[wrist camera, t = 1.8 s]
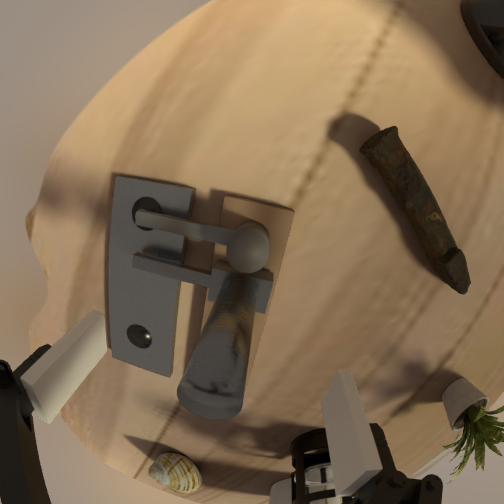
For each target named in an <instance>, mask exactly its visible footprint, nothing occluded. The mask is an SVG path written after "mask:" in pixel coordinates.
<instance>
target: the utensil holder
mask: <svg viewBox="0 0 504 504" xmlns="http://www.w3.org/2000/svg"><path fill="white" fill-rule="evenodd" d="M329 489H335V487H334V484H331V485H327V486H326V490H329ZM323 490H324V488H323V486H320V487H309V494H310V493H313V492H317V491H323ZM327 502H328V504H340V497H333V498H327ZM269 504H291V478H288V479H284V480H281V481H279V482H277V483H275V484H274V485H273V486H272V487H271V491H270V500H269ZM310 504H325V499H321V500H316V501H312V502H310Z"/></svg>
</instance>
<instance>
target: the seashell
mask: <svg viewBox="0 0 504 504" xmlns="http://www.w3.org/2000/svg"><path fill="white" fill-rule="evenodd" d="M149 475H150V476H151V477H152V478H153V479H155V480H156V481H157V482H159V483H161V484H163V485H165V486H167V487H168V488H170V489H171V490H173V491H175V492H178V493H192V492H194V491H196V490H198V489H199V488H200V486H201V484H202V477H201V474H200V473H199V471H198V469H197V467H196V466H195V465H194V464H193V463H192V462H191V461H190V460H189V459H188V458H187V457H185V456H182V455H180V454H176V453H164V454H161V455H159V456H158V457H157V458H156V459H155V461H154V463H153V464H152V465H151V466H150V468H149Z"/></svg>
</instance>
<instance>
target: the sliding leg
mask: <svg viewBox="0 0 504 504" xmlns="http://www.w3.org/2000/svg"><path fill="white" fill-rule="evenodd" d="M131 259H132V267H133V268H136V269H140V270H143V271H147V272H150V273H154V274H158V275H161V276H165V277H169V278H172V279H176V280H180V281H184V282H188V283H192V284H195V285H199V286H203V287H207V288H209V291H208V297H207V301H211V302H214V305H213V307H212V309H211V311H210V314H209V316H208V318H207V321H206V323H205V325H204V328H203V330H202V332H201V334H200V337H199V339H198V341H197V344H196V346H195V348H194V351H193V353H192V355H191V358H190V360H189V362H188V365H187V367H186V369H185V372H184V374H183V377H182V379H181V381H180V384H179V386H178V388H177V396H178V399H179V401H180V403H181V404H182V405H183V406H184V407H185V408H186V409H187V410H189V411H190V412H192V413H193V414H195V415H197V416H200V417H203V418H206V419H212V420H223V419H228V418H231V417H233V416H235V415H237V414H238V413H239V412H240V410H241V408H242V405H243V398H244V391H245V384H246V376H247V369H248V362H249V355H250V347H251V340H252V332H253V325H254V317H255V312H258V313H263V314H265V312H266V308H267V304H268V301H269V297H270V293H271V290H272V286H273V282H274V272H269V271H265V270H258V271H256V272H253V273H243V272H240V271H238V270H236V269H234V268H233V267H232V266H231V265H230V263H229V262H226V261H222V260H217V262H216V263H215V265H214V266H213V268H212V271H208V270H204V269H199V268H195V267H191V266H187V265H183V264H179V263H175V262H171V261H168V260H164V259H160V258H156V257H152V256H148V255H144V254H142V253H141V252H140V251H135V252H134V253H133V254H132V256H131Z"/></svg>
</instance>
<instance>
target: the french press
mask: <svg viewBox="0 0 504 504" xmlns="http://www.w3.org/2000/svg"><path fill="white" fill-rule="evenodd" d="M323 447H328V441H327V435H326V429H318V430H314V431H310V432H307V433H305V434H303V435H301V436H299V437H297V438H296V439H295V440H294V441H293V442H292V443H291V446H290V451H291V453H292V466H293V467H294V468H295V469H296V471H294V472H293V473H292V474H291V504H310V502H312V501H316V500H321V499H325V504H328V502H327V498H333V497H336V494H335V489H329V490H326V486H327V485H331V484H334V480H333V473H332V466H331V460H330V453H329V454H325V455H320V456H308V455H304V453H305V452H307V451H310V450H313V449H318V448H323ZM320 486H323V488H324V490H323V491H317V492H313V493H310V494H309V487H320ZM341 497H342V501H343V503H342V504H349V503H350V502H351V501H352V500H354V499H355V498H356V497H358V492H357V491H356V492H355V493H354V494H352V495H351V496H341ZM352 497H354V498H353V499H352Z"/></svg>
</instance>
